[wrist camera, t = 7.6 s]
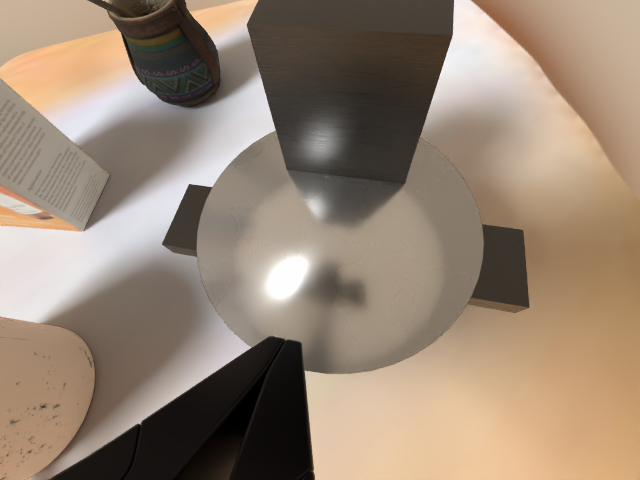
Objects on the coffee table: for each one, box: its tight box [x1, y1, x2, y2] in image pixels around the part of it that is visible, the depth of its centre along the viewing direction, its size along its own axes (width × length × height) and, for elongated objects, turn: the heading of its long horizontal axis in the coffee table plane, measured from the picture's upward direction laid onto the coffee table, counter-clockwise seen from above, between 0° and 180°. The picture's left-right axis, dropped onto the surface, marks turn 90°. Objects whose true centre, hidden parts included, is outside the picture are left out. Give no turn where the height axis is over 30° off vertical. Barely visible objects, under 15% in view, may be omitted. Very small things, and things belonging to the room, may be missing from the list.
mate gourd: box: [88, 0, 220, 106], centre depth 24 cm, size 7×8×10 cm
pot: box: [162, 184, 529, 313], centre depth 18 cm, size 13×19×6 cm
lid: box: [197, 0, 484, 374], centre depth 11 cm, size 13×13×8 cm
